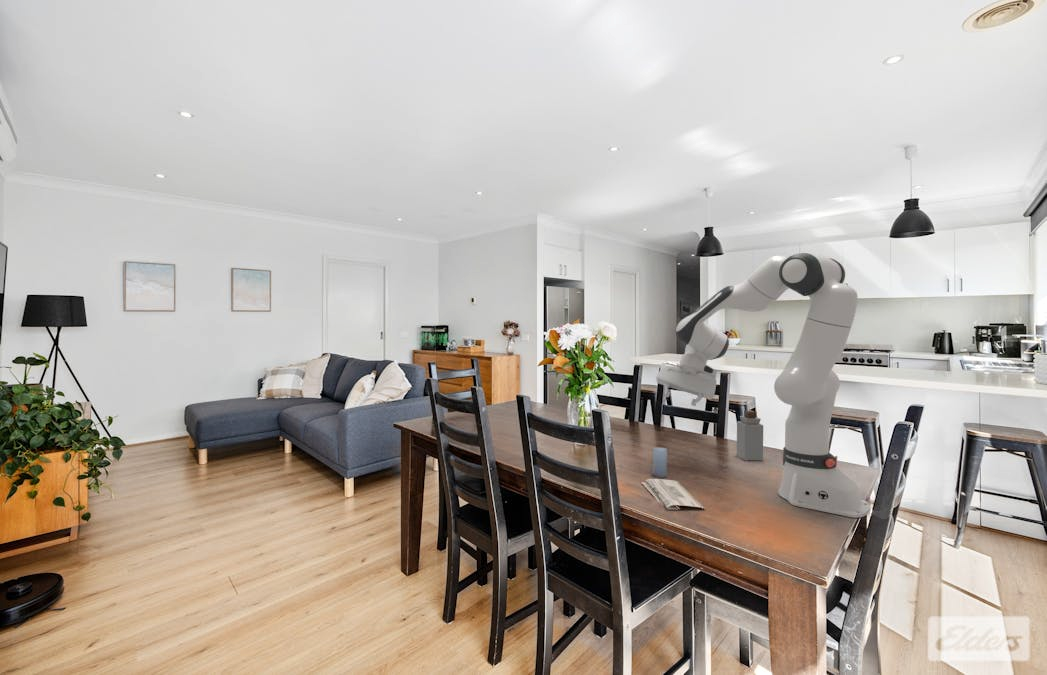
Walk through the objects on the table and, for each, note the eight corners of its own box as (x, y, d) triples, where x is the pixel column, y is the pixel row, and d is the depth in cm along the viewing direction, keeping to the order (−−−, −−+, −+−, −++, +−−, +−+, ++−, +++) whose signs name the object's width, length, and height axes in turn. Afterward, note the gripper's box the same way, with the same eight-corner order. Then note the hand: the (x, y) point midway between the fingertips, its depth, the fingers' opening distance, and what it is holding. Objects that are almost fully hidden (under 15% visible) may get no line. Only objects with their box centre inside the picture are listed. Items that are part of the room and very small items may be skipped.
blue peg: (669, 475, 157) (669, 449, 156) (662, 478, 154) (662, 451, 153) (657, 472, 160) (657, 446, 159) (650, 475, 157) (650, 449, 157)
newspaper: (640, 484, 150) (641, 477, 150) (677, 488, 150) (678, 480, 150) (661, 513, 127) (662, 504, 127) (705, 517, 127) (706, 508, 127)
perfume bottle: (762, 460, 172) (763, 413, 171) (744, 460, 172) (745, 413, 171) (754, 455, 179) (754, 409, 178) (736, 455, 179) (737, 409, 178)
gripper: (663, 355, 169) (650, 386, 163) (721, 372, 161) (710, 405, 155) (662, 364, 174) (650, 395, 168) (719, 381, 166) (708, 413, 160)
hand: (679, 400), depth 162 cm, fingers open, 8 cm apart
